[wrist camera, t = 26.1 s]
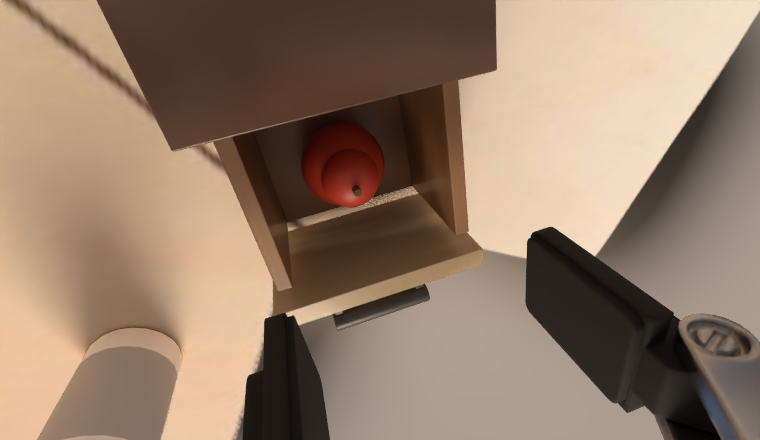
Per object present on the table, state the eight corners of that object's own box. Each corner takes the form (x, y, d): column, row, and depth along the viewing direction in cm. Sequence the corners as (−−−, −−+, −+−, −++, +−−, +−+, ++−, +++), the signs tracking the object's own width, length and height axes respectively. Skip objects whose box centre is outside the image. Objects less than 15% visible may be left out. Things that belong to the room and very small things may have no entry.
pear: (282, 161, 24) (287, 207, 18) (327, 97, 23) (348, 123, 17) (344, 199, 26) (366, 251, 20) (387, 142, 25) (424, 179, 19)
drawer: (435, 252, 32) (486, 322, 24) (296, 296, 30) (305, 386, 23) (399, -24, 22) (468, -50, 14) (185, 20, 20) (134, 17, 12)
